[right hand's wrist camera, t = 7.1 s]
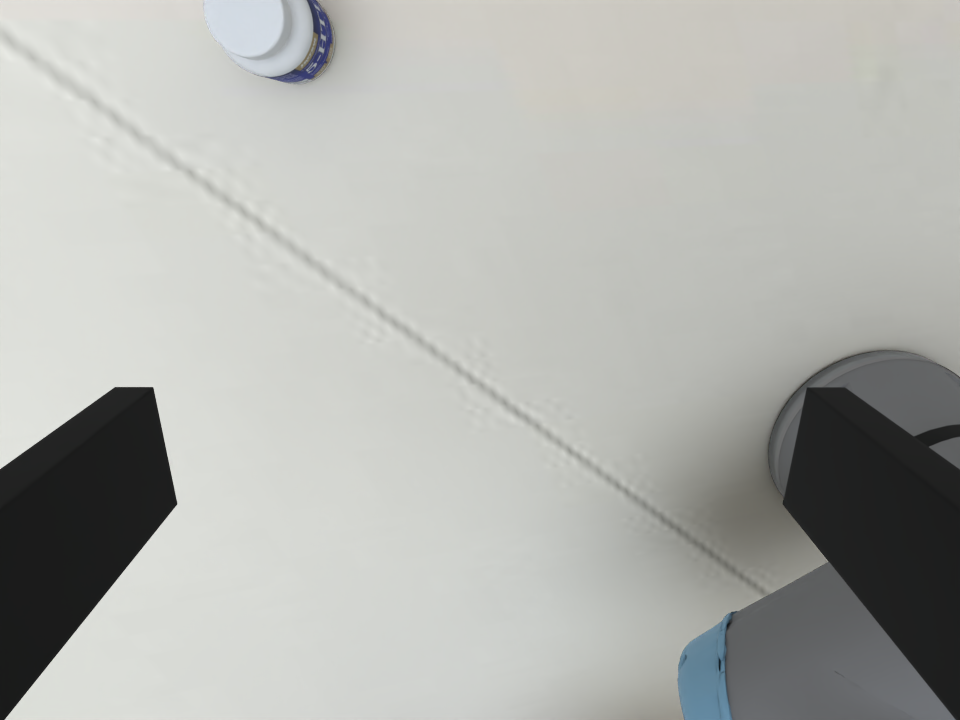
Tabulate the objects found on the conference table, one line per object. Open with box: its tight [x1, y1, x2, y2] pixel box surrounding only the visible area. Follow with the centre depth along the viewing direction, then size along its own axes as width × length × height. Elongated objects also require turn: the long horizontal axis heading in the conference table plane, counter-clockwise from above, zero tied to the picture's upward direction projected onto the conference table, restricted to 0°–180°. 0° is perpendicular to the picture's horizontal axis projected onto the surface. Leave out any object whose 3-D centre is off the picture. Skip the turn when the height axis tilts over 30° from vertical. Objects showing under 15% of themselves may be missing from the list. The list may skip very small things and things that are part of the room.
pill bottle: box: [203, 0, 335, 84], centre depth 34 cm, size 5×5×9 cm
